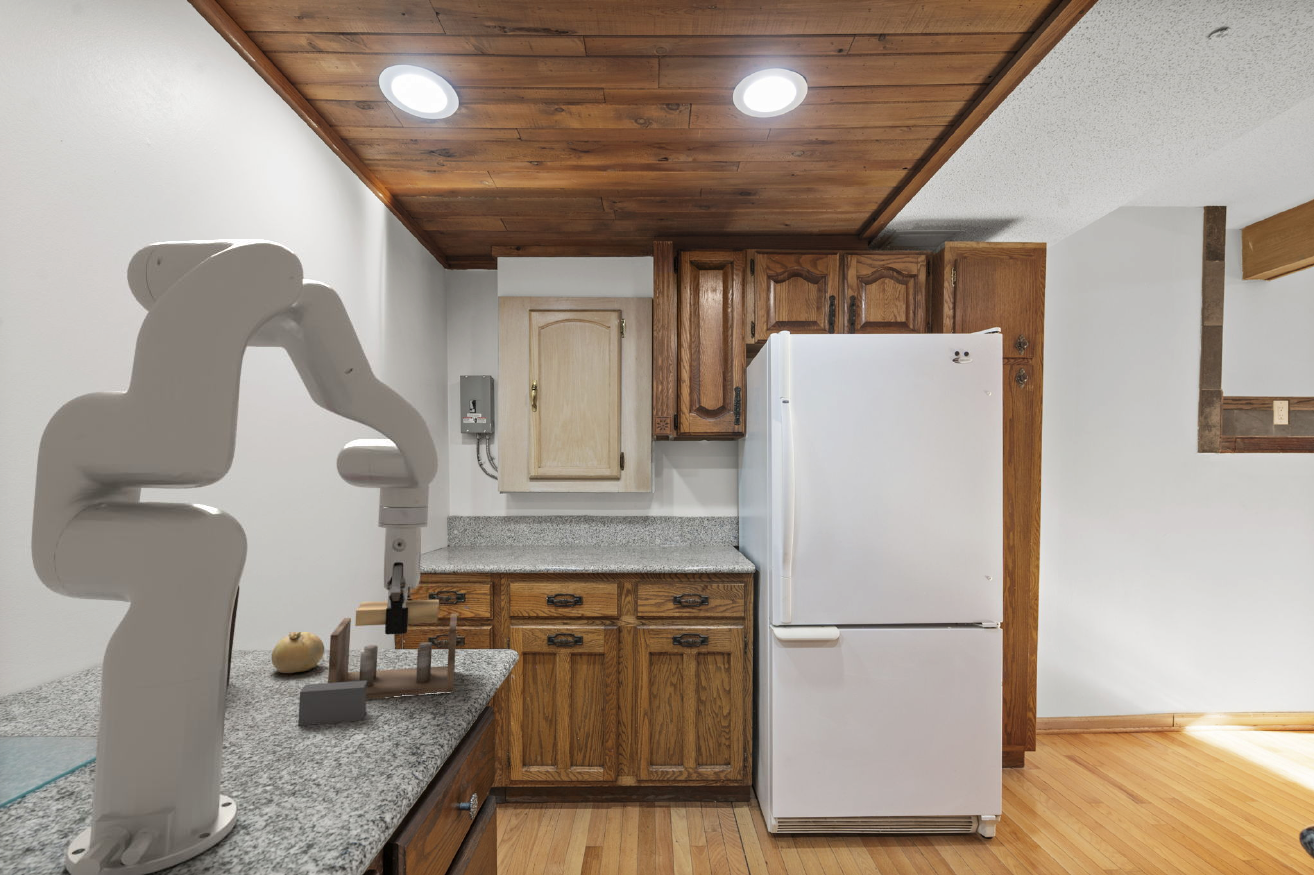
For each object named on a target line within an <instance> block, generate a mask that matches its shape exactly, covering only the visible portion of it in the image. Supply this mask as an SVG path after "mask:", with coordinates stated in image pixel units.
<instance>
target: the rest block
mask: <svg viewBox="0 0 1314 875" xmlns="http://www.w3.org/2000/svg"><path fill="white" fill-rule="evenodd" d="M366 693H367V680H366V681H351V682H337V683H328V682H325V683H322V682H321V683H312V684H311V683H310V684H305V685H304V686H303V687H302V688H301V690H300V691H299V706H298V723H297V726H298V727H299V726H307V725H309V726H310V725H321V724H331V723H332V724H334V723H342V722H343V723H346V722H357V721H363V719H364V717H365V715H366V711H367V710H366V709H367V700H366Z"/></svg>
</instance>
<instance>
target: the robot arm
mask: <svg viewBox="0 0 1314 875" xmlns="http://www.w3.org/2000/svg"><path fill="white" fill-rule="evenodd" d="M126 271H127V272H126V273H127V274H126V275H127V276H126V279H127V284H128V287H129V289H130V291H131V295H133V297H134V298H135V300H136V302H138V303H139V305H140V306H142V308H144V309H145V311H147V313H146V316H145V318H144V319H143V321H142V323H141V327H140V328H139V332H138V335H137V337H136V342H135V349H134V356H133V363H132V369H131V377H130V383H129V387H128V390H124V391H122V390H121V391H120V390H119V391H117V390H107V391H106V390H105V391H96V392H90V393H84V394H82V395H79V396H76V397H75V398H74V397H73V398H72V399H70V400H69V401H68V402H67V401H66V403H65V404H63V405H62V406H60V407H59V409H57V411H56V412H55V413H54V414H53V415H52V417H51V418H50V419H49V421H48V423H47V424H46V426H45V428H44V430H43V433H42V435H41V438H40V441H39V442H40V443H39V448H38V454H37V461H36V462H37V465H36V476H35V486H34V487H35V489H34V497H33V498H34V501H33V512H32V513H33V514H32V524H31V543H30V544H31V559H32V564H33V565H32V566H33V569H34V572H35V574H36V576H37V578H38V580H39V581H40V582H41V583H42V584H43V585H44V586H45V587H46V588H47V589H49V590H50V591H52V592H54V593H56V594H58V595H61V596H63V597H68V598H73V599H82V600H83V599H84V600H102V601H114V602H115V601H116V602H117V601H118V602H119V601H120V602H124V603H129V607H128V610H127V611H126V613H125V614H124V616H123V618H122V620H121V621H120V622H119V624H118V626H117V627H116V628H115V630H114V632H113V633H112V635H111V636H110V639H109V641H108V643H107V646H106V649H105V651H104V655H103V659H102V660H103V661H102V666H101V667H102V668H101V679H100V680H101V685H100V697H99V700H100V701H99V710H98V711H99V712H98V727H97V741H96V756H95V768H94V770H95V771H94V782H93V793H92V794H93V796H92V797H93V798H92V808H91V810H92V811H91V822H90V823H91V825H90V826H88V827H87V828H85V829H84V830H82V832H80V833H79V834H78V835H77V836H76V837H75V838H74V839H73V840H72V841H71V842H70V843H69V845H68V846H67V848H66V853H65V861H64V862H65V869H66V870H67V872H68V873H69V874H70V875H147V874H152V873H155V872H158V871H162V870H165V869H168V868H171V867H173V866H176V865H178V864H181V863H183V862H186V861H188V860H190V859H192V858H194V857H197V856H199V855H200V854H203V853H205V852H206V851H207V850H208V849H210V848H212V847H214V846H215V845H216V844H218V843H219V842H220V841H221V840H223V839H225V837H226V836H227V835H228V834H229V833H230V832H231V831H233V829H234V827H235V825H236V824H237V820H238V811H239V810H238V809H239V808H238V804H237V803H236V801H235V800H234V799H233V798H231V797H230V796H226V795H225V794H221V783H222V770H223V769H222V766H223V749H224V733H225V720H226V718H225V717H226V702H227V701H226V700H227V688H228V686H227V671H228V653H229V639H230V628H231V620H232V613H233V608H234V602H235V598H236V594H237V590H238V586H239V587H240V583H241V579H242V577H243V573H244V569H245V565H246V560H247V555H248V554H247V553H248V540H247V539H248V538H247V535H246V532H245V530H244V528H243V526H242V524H241V523H240V522H239V521H238V519H237V518H235V517H234V516H232V515H231V514H230V513H228V512H226V511H224V510H222V509H219V508H217V507H214V506H210V505H205V504H199V503H191V502H190V503H189V502H187V503H186V502H163V501H161V502H160V501H141V492H142V489H170V490H171V489H174V490H176V489H181V490H183V489H194V488H202V487H207V486H211V485H213V484H216V483H218V482H219V481H221V480H223V478H224V477H225V476H227V474H228V473H229V472H230V470H231V468H232V464H233V462H234V461H233V460H234V457H235V451H236V443H237V431H238V430H237V428H238V416H239V401H240V389H241V387H240V386H241V375H242V366H243V360H244V356H245V353H246V349H247V348H248V347H254V348H257V347H258V348H260V347H261V348H264V347H265V348H267V347H268V348H269V347H271V348H282V349H284V350H285V351H286V352H287V355H288V357H289V358H290V360H291V362H292V364H293V366H294V367H295V370H296V371H297V374H298V376H299V377H300V379H301V380H302V383H303V384H304V386H305V389H306V390H307V392H308V394H309V396H310V398H311V400H312V401H313V402H314V404H316V405H317V406H319V407H320V408H322V409H324V410H326V411H329V412H330V413H333V414H335V415H338V416H339V417H343V418H345V419H347V420H351V421H353V422H356V423H359V424H362V425H364V426H367V427H369V428H370V429H373V430H374V431H377V432H378V433H380V434H382V435H383V436H384V437H386V438H361V439H355V440H353V441H350V442H348V443H347V444H346V445H343V447H342V448H341V449H340V451H339V453H338V454H337V458H336V469H337V470H336V471H337V473H338V475H339V477H341V479H342V480H343V481H344V482H345V483H347V484H349V485H351V486H353V487H356V488H357V487H358V488H365V489H366V488H368V489H369V488H370V489H371V488H372V489H379V500H378V502H379V504H378V505H379V507H378V523H377V524H378V525H377V526H378V527H379V528H383V529H385V534H384V536H385V538H384V539H385V540H384V553H383V554H384V555H383V556H384V557H383V587H384V589H385V590H386V591H388V595H387V601H388V604H387V608H386V623H385V628H384V633H385V635H404V634H405V635H406V634H407V632H408V607H406V605H407V601H410V600H413V598H411V596H412V590H415V589H417V588H418V586H419V584H420V581H421V561H422V560H421V559H422V558H421V556H422V530H421V529H422V528H425V527H428V522H429V521H428V518H429V512H428V511H429V496H430V495H429V494H430V492H429V491H430V484H431V483H432V482H433V481H434V480H435V477H436V475H437V472H438V468H439V467H438V466H439V458H438V453H437V450H436V447H435V446H436V445H435V443H434V440H433V438H432V434H431V432H430V430H429V428H428V425H427V422H426V421H425V419H424V417H423V416H422V414H421V413H420V412H419V411H418V410H417V409H416V408H415V407H414V405H412V404H411V403H410V402H408V401H407V400H406V399H405V398H404V397H403V396H402V395H400V394H399V393H398V392H397V391H395V390H394V389H393V388H391V387H390V386H389V385H387V384H386V383H384V382H383V381H381V380H380V379H379V378H378V377H376V375H375V374H374V371H373V369H372V366H371V364H370V363H369V360H368V359H367V356H366V354H365V352H364V349H363V346H362V344H361V342H360V340H359V337H358V335H357V332H356V330H355V327H354V326H353V322H352V321H351V319H350V317H349V316H350V315H349V314H348V312H347V309H346V308H345V307H346V306H345V305H344V303H343V301H342V299H341V297H340V295H339V293H338V292H337V291H336V290H335V289H333V288H332V286H330V285H327V284H325V283H324V282H321V281H317V280H311V279H304V278H305V277H304V270H303V265H302V262H301V261H300V259H299V257H298V256H297V254H296V253H295V252H293V251H292V250H291V249H290V248H288V247H286V246H284V245H283V244H280V243H277V242H273V241H271V240H266V239H265V240H264V239H214V240H189V241H188V240H187V241H186V240H185V241H184V240H183V241H182V240H181V241H177V240H176V241H165V242H164V241H162V242H155V243H151V244H149V245H146V246H144V247H142V248H140V249H138V250H137V252H136V253H134V255H133V256H132V257H131V259H130V261H129V263H128V266H127V270H126Z"/></svg>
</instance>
